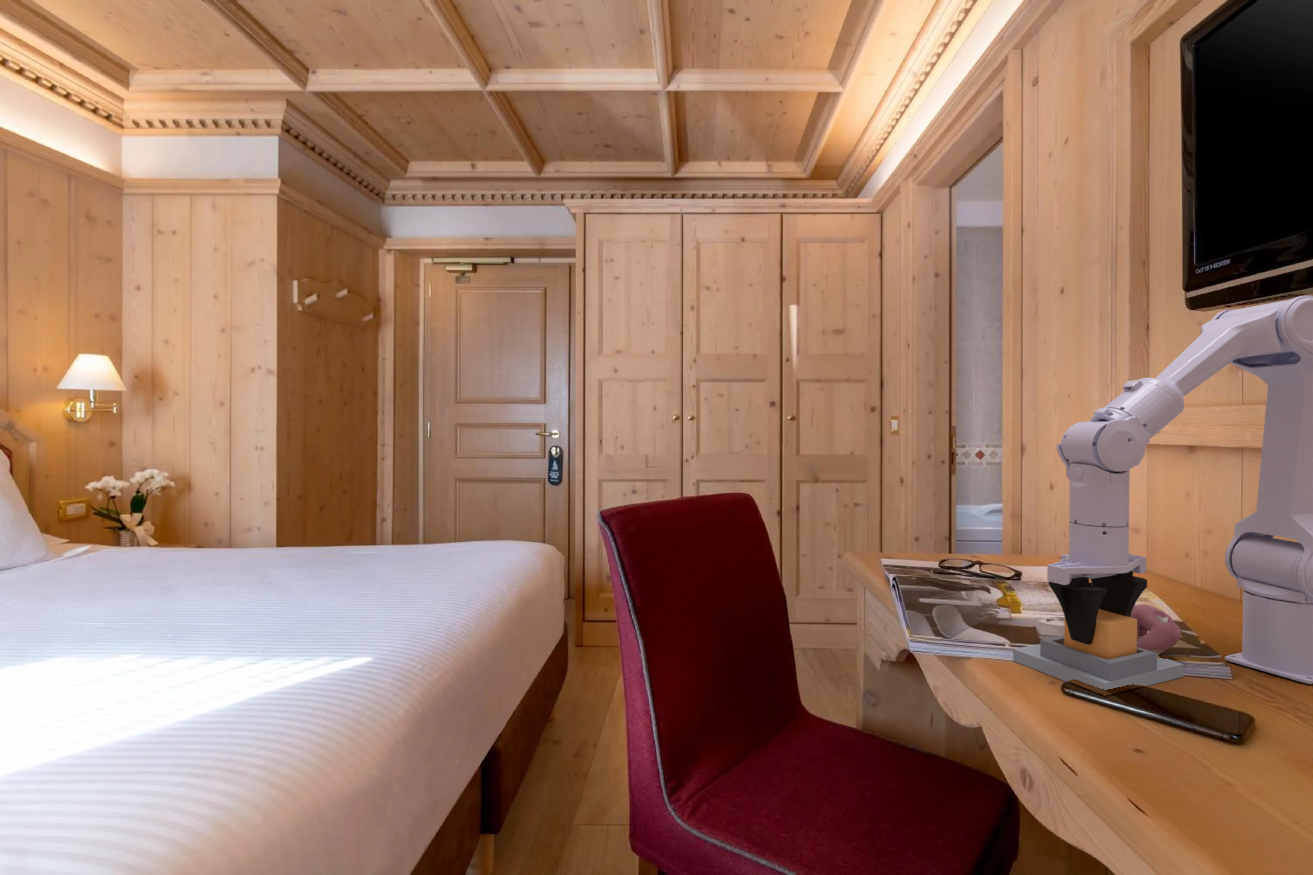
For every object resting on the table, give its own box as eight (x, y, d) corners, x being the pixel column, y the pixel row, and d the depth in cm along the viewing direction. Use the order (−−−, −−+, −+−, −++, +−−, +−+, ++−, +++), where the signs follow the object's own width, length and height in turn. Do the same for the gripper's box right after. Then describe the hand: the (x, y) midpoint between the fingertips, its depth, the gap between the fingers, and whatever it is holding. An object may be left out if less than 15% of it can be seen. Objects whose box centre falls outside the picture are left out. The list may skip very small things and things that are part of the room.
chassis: (1087, 645, 83) (1088, 619, 83) (1183, 676, 72) (1184, 647, 72) (1013, 660, 77) (1013, 633, 77) (1105, 696, 67) (1105, 664, 67)
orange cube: (1091, 647, 76) (1092, 607, 76) (1136, 662, 71) (1137, 619, 71) (1064, 653, 74) (1064, 612, 74) (1108, 668, 69) (1108, 624, 69)
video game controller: (1167, 676, 76) (1196, 627, 76) (1129, 657, 77) (1159, 609, 77) (1123, 647, 86) (1149, 604, 85) (1090, 631, 87) (1116, 588, 86)
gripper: (1103, 515, 79) (1102, 620, 79) (1023, 522, 74) (1022, 635, 74) (1166, 523, 72) (1164, 638, 73) (1083, 531, 67) (1081, 656, 67)
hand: (1097, 638), depth 73 cm, fingers closed on orange cube, 5 cm apart
